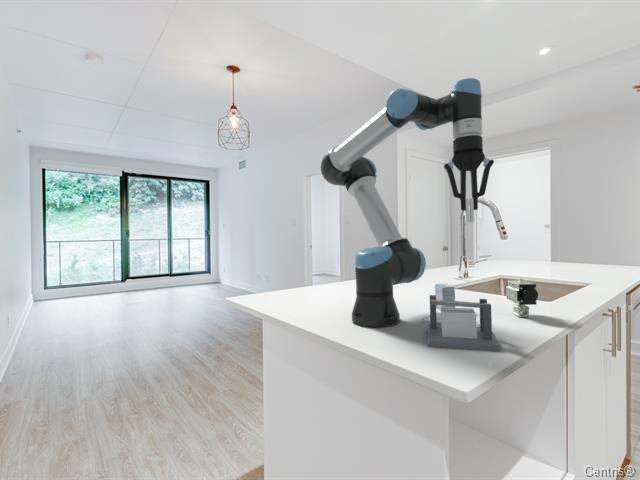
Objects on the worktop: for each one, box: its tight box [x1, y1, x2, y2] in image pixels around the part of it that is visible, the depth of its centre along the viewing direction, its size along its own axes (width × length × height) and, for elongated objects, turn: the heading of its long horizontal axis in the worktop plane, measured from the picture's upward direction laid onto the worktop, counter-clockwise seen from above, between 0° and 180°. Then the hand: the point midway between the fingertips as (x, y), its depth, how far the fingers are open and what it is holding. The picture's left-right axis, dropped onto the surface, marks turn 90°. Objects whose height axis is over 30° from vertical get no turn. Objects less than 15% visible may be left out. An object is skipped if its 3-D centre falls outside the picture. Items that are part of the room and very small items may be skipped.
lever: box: [431, 299, 488, 309], centre depth 87 cm, size 14×4×1 cm, turn 73°
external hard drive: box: [422, 310, 441, 325], centre depth 107 cm, size 2×8×12 cm
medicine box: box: [434, 283, 457, 311], centre depth 119 cm, size 8×4×9 cm, turn 179°
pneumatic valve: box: [504, 278, 539, 319], centre depth 107 cm, size 6×12×12 cm, turn 174°
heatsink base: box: [427, 294, 501, 352], centre depth 87 cm, size 16×14×10 cm
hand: (469, 221), depth 95 cm, fingers closed
